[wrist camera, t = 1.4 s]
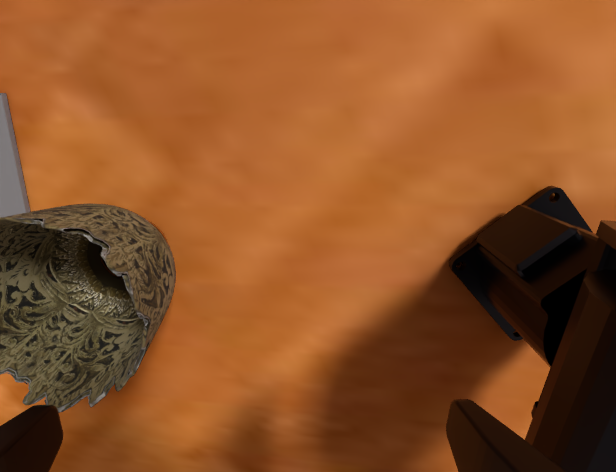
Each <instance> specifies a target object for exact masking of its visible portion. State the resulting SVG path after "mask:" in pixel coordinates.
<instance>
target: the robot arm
mask: <svg viewBox="0 0 616 472" xmlns="http://www.w3.org/2000/svg"><path fill="white" fill-rule="evenodd" d="M552 193H554V194H555V196H554V198H553V199H552V200H549V196H550V195H551V194H552ZM459 262H463V265H462V266H461V267H456V266H457V264H458V263H459ZM449 266H450V268H451V270H452V271H453V272H454V273H455V274H456V275H457V277H458V278H459V279H460V280H461V281H462V282H463V284H464V285H465V286H466V287H467V288H468V289H469V291H470V292H471V293H472V294H473V295H474V296H475V298H476V299H477V300H478V301H479V302H480V303H481V305H482V306H483V307H484V308H485V309H486V310H487V312H488V313H489V314H490V315H491V316H492V318H493V319H494V320H495V321H496V322H497V323H498V325H499V326H500V327H501V328H502V329H503V330H504V332H505V333H506V334H507V335H508V336H509V337H510V338H511V339H512V340H515V341H517V340H521V339H524V340H525V341H526V342H527V343H528V344H529V345H530V346H531V347H532V348H533V349H534V350H535V352H536V353H537V354H538V355H539V356H540V357H541V358H542V359H543V360H544V361H545V362H546V363H547V364H548V365H549V367H550V371H549V374H548V377H547V379H546V382H545V385H544V388H543V390H542V393H541V396H540V398H539V401H536V402H535V404H534V407H533V409H532V412H531V414H532V418H533V419H532V422H531V424H530V427H529V430H528V433H527V435H526V438H525V440H524V439H523V438H521V437H520V436H519V435H517V434H516V433H515V432H513V431H512V430H511V429H509V428H508V427H507V426H505V425H504V424H503V423H501V422H500V421H499V420H497V419H496V418H495V417H493V416H492V415H490V414H489V413H488V412H486V411H485V410H484V409H482V408H481V407H480V406H478V405H477V404H476V403H474V402H473V401H471V400H468V399H456V400H453V401H452V402H451V405H450V410H449V415H448V420H447V425H446V433H447V438H448V441H449V444H450V447H451V450H452V453H453V456H454V459H455V462H456V466H457V469H458V472H616V222H615V221H603V220H602V221H601V222H600V225H599V227H598V230H597V233H596V234H594V233H593V232H592V231H591V229H590V228H589V226H588V225H587V224H586V222H585V221H584V219H583V218H582V216H581V215H580V214H579V212H578V211H577V209H576V208H575V206H574V205H573V204H572V202H571V201H570V199H569V198H568V197H567V195H566V194H565V192H564V191H563V190H562V189H561V188H557V187H554V186H549V187H546V188H544V189H543V190H542V191H540V192H539V193H538V194H536V195H535V196H534V197H532V198H531V199H529V200H528V201H527V202H525V203H524V204H523V205H518V206H516V207H515V208H513V209H512V210H511V211H509V212H508V213H507V214H505V215H504V216H503V217H501V218H500V219H499V220H497V221H496V222H495V223H493V224H492V225H491V226H489V227H488V228H487V229H485V230H484V231H483V232H481V233H480V234H479V235H478V237H477V239H476V240H475V241H473V242H472V243H471V244H469V245H468V246H467V247H465V248H464V249H463V250H461V251H460V252H459V253H457V254H456V255H455V256H453V257H452V258H451V259H450V262H449ZM515 330H516V331H517V332H515V333H514V331H515ZM62 440H63V430H62V426H61V421H60V417H59V413H58V409H57V408H56V406H54V405H35V406H32V407H31V408H29V409H27V410H26V411H24V412H22V413H21V414H19V415H18V416H16V417H14V418H13V419H11V420H9V421H8V422H6V423H5V424H3V425H1V426H0V472H49V470H50V468H51V466H52V464H53V462H54V459H55V457H56V455H57V453H58V451H59V449H60V446H61V444H62Z"/></svg>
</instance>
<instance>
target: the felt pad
mask: <svg viewBox="0 0 616 472" xmlns="http://www.w3.org/2000/svg"><path fill="white" fill-rule="evenodd" d="M28 212H30V207H29V203H28V198H27V193H26V188H25V183H24V178H23V173H22V168H21V164H20V159H19V154H18V149H17V144H16V139H15V134H14V130H13V125H12V120H11V115H10V110H9V105H8V100H7V95H6V93H0V217H7V216H12V215H17V214H22V213H28Z"/></svg>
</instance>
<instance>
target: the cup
mask: <svg viewBox="0 0 616 472" xmlns="http://www.w3.org/2000/svg"><path fill="white" fill-rule="evenodd" d="M175 281H176V271H175V263H174V258H173V255H172V252H171V249H170V247H169V245H168V242H167V239H166V237H165V235H164V234H163V232H162V231H161V230H160V229H159V228H158V227H157V226H156V225H154V224H153V223H151V222H149V221H147V220H146V219H144V218H143V217H141V216H139V215H138V214H136V213H134V212H132V211H129V210H126V209H123V208H120V207H116V206H112V205H106V204H77V205H68V206H61V207H55V208H50V209H44V210H39V211H33V212H28V213H22V214H17V215H12V216H7V217H0V374H3V373H4V372H9V373H8V374H10V373H11V375H12V374H13V375H12V376H13V378H14V379H15V381H16V382H25V381H26V382H27V383H29V392H28V394H27V395H26V396H25V398H24V400H23V403H24V404H25V405H31V404H34V403H36V402H38V401H40V400H41V399H43V398H44V397H46V400H45V403H46V401H47V403H46V405H54V406H56V408H57V409H58V413H59V412H63V411H65V410H67V409H68V408H70V407H72V406H74V405H75V404H76V403H78V402H79V401H80V400H81V399H83V398H85V397H86V396H89V397H88V399H89V405H90V407H93V406H94V405H95V404H97V403H98V402H99V401H100V400H101V399H102V398H104V397H105V396H106V395H107V393H108V391H109V390H110V389H111V387H112V386H113V385H114V384H115V383H116V384H115V389H116V391H120V390H121V389H122V388H123V386H124V385H125V384H126V382H127V381H128V380H129V378H130V377H132V376H134V374H135V373H136V371H137V369H138V367H139V365H140V363H141V361H142V359H143V356H144V355H145V353H146V351H147V349H148V347H149V345H150V343H151V341H152V340H153V338H154V336H155V334H156V332H157V330H158V328H159V326H160V324H161V322H162V320H163V318H164V316H165V313H166V311H167V309H168V307H169V304H170V301H171V299H172V295H173V292H174V287H175ZM26 382H25V383H26ZM27 383H26V384H27ZM27 385H28V384H27Z"/></svg>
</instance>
